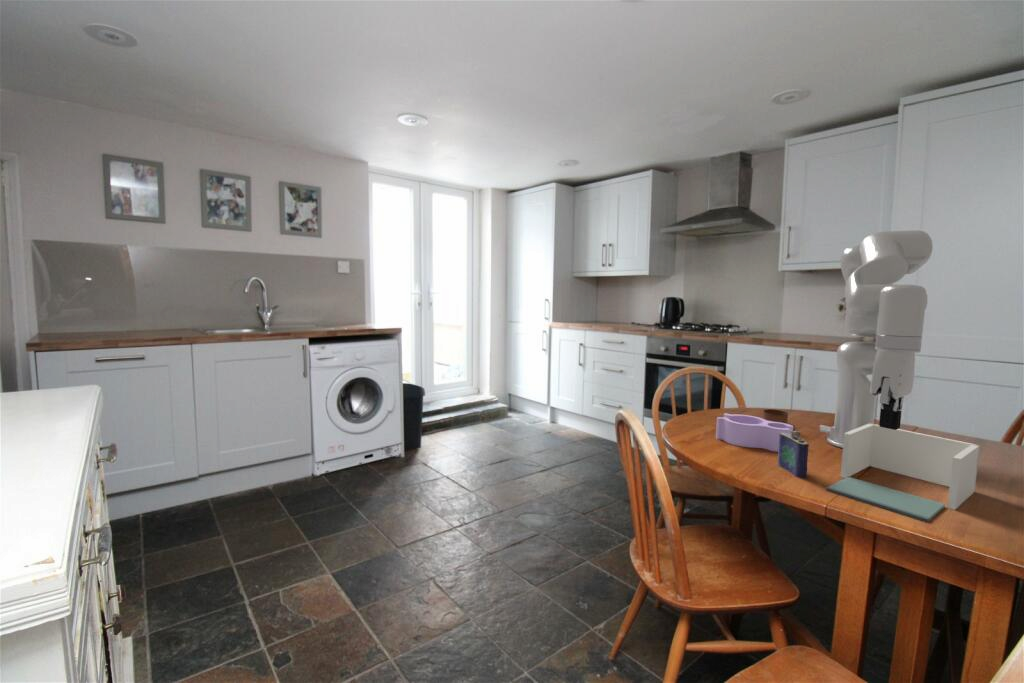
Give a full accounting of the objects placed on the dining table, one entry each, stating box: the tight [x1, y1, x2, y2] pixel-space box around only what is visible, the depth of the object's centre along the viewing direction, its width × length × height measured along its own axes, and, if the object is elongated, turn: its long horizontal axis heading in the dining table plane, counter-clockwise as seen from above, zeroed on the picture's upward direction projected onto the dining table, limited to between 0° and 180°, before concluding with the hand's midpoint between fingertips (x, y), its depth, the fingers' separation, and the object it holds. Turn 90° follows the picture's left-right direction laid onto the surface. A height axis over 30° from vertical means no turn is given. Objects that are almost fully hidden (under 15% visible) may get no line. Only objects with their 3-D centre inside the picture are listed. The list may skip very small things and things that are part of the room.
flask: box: [776, 430, 809, 480], centre depth 118 cm, size 10×3×12 cm, turn 1°
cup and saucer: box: [762, 409, 796, 431], centre depth 158 cm, size 12×12×6 cm
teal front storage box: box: [839, 423, 981, 511], centre depth 111 cm, size 16×21×12 cm
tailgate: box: [825, 476, 946, 523], centre depth 103 cm, size 1×18×12 cm
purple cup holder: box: [715, 412, 794, 453], centre depth 144 cm, size 20×12×7 cm, turn 48°
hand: (889, 427), depth 101 cm, fingers closed
